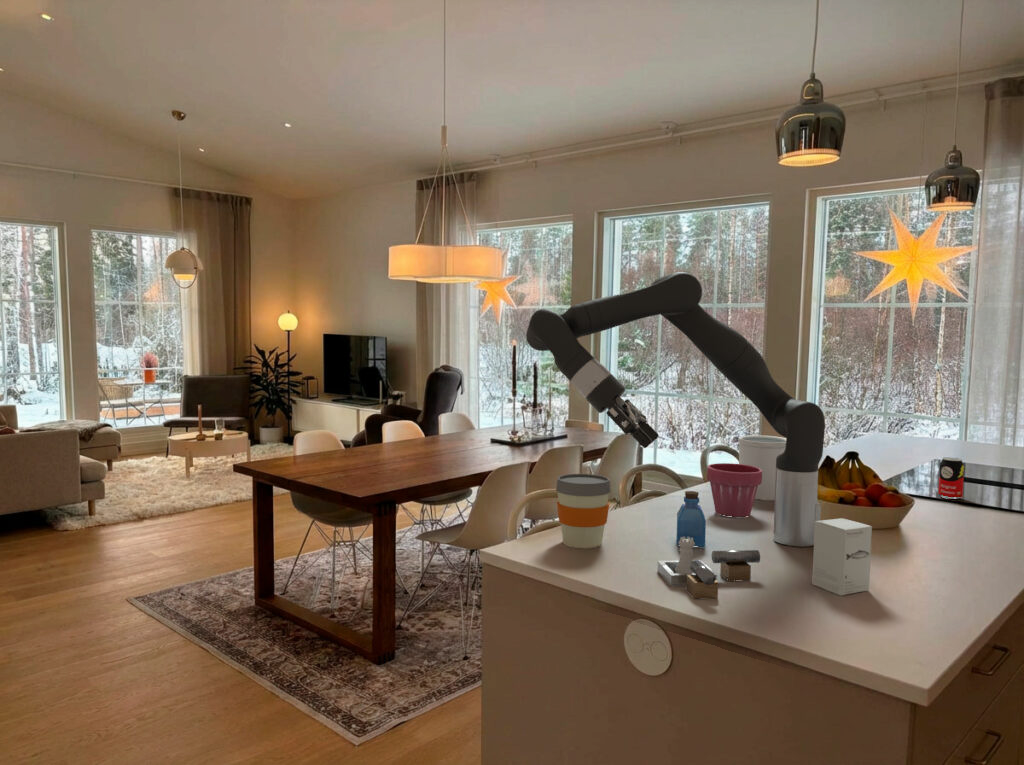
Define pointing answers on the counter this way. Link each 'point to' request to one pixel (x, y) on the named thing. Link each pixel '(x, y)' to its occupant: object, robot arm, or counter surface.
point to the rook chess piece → (685, 555)
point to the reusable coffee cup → (583, 508)
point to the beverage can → (951, 477)
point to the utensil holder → (762, 460)
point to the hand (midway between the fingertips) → (652, 442)
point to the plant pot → (734, 487)
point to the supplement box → (842, 556)
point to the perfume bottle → (691, 520)
